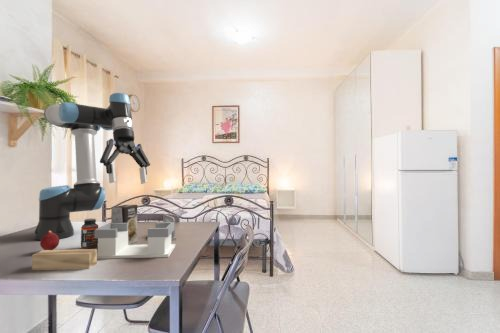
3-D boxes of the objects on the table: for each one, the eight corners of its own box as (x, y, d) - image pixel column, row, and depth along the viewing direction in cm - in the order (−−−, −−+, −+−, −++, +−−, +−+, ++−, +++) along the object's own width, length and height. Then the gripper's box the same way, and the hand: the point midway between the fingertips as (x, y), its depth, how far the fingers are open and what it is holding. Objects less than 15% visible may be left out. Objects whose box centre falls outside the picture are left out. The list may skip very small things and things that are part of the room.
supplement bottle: (85, 250, 105) (86, 221, 105) (77, 248, 108) (78, 219, 109) (101, 246, 110) (101, 218, 111) (93, 244, 114) (93, 217, 114)
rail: (42, 265, 90) (42, 250, 90) (96, 264, 91) (96, 249, 91) (31, 271, 85) (32, 254, 85) (89, 269, 86) (89, 253, 86)
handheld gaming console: (146, 237, 127) (146, 215, 127) (165, 234, 133) (165, 213, 133) (155, 243, 117) (155, 219, 117) (176, 239, 122) (176, 217, 122)
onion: (62, 250, 105) (63, 229, 105) (47, 254, 100) (47, 233, 100) (52, 249, 107) (52, 228, 107) (36, 253, 102) (36, 231, 102)
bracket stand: (109, 247, 109) (109, 222, 109) (175, 246, 112) (175, 221, 112) (92, 259, 95) (92, 230, 95) (168, 257, 98) (168, 229, 98)
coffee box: (124, 247, 110) (124, 207, 110) (110, 246, 111) (110, 206, 111) (137, 241, 119) (138, 204, 119) (124, 240, 120) (124, 204, 120)
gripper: (98, 120, 96) (103, 179, 92) (154, 133, 117) (161, 181, 113) (86, 127, 99) (90, 184, 95) (143, 139, 121) (149, 185, 117)
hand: (129, 182), depth 104 cm, fingers open, 13 cm apart
